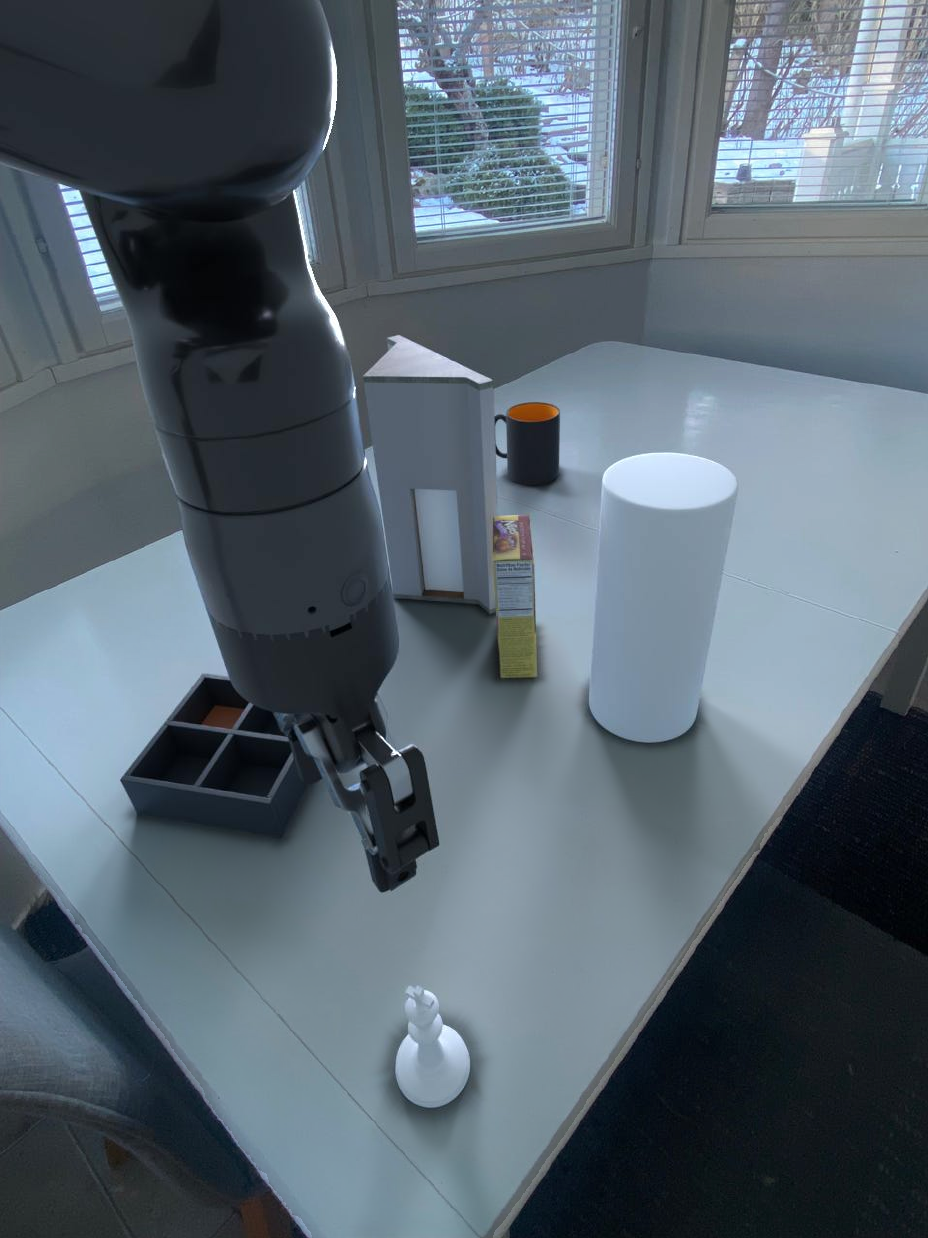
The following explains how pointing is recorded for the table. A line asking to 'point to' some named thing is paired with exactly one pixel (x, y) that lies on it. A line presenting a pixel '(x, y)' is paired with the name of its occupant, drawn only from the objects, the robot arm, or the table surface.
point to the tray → (218, 764)
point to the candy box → (515, 596)
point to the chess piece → (430, 1054)
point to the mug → (532, 442)
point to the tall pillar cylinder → (657, 590)
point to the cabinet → (434, 473)
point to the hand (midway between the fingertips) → (355, 823)
